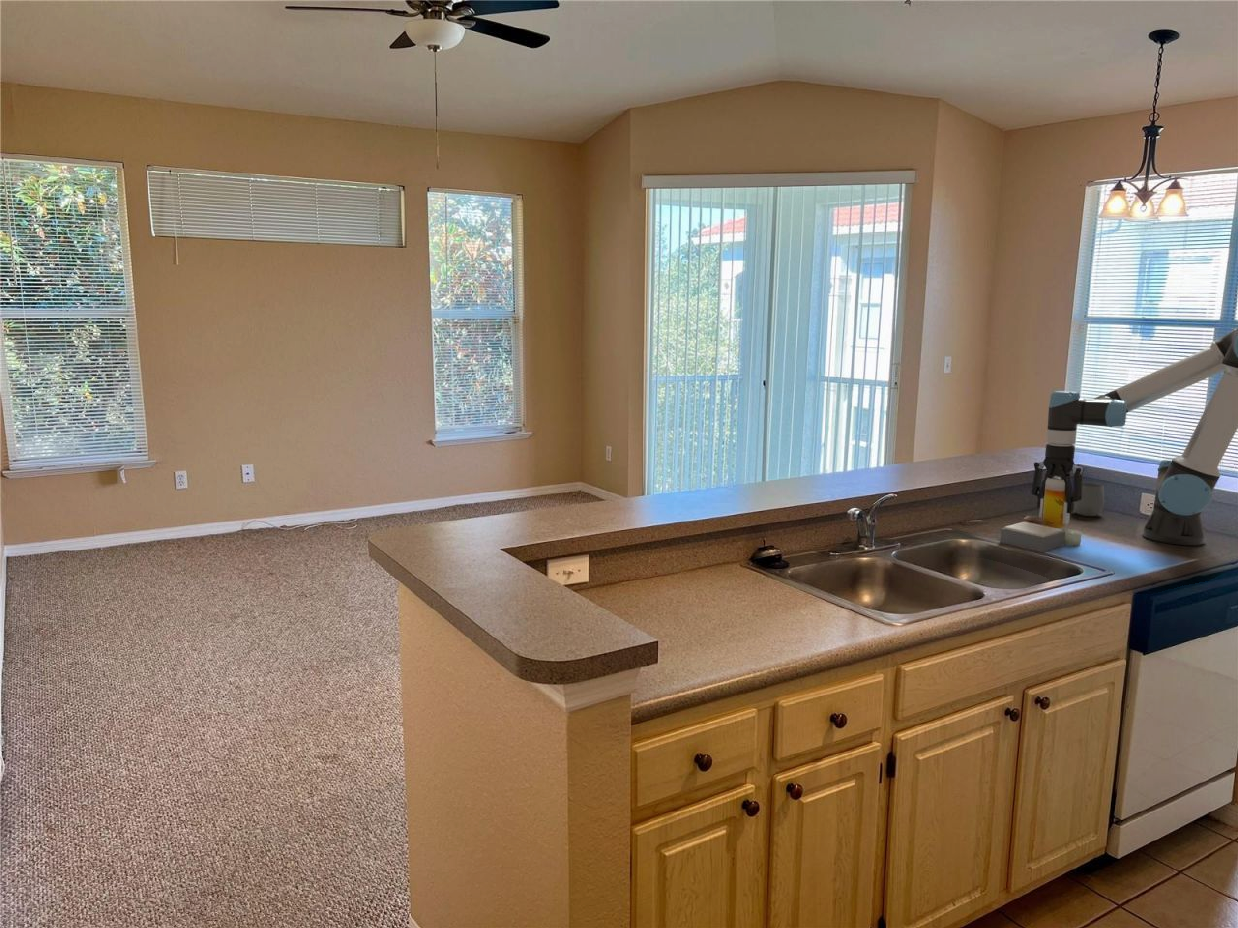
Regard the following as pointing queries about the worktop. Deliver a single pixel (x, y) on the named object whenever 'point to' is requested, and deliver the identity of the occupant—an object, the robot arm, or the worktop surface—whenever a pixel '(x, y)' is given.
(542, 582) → the worktop surface
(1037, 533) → the podium
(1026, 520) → the walnut block
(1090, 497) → the cup
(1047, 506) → the glass of beer
